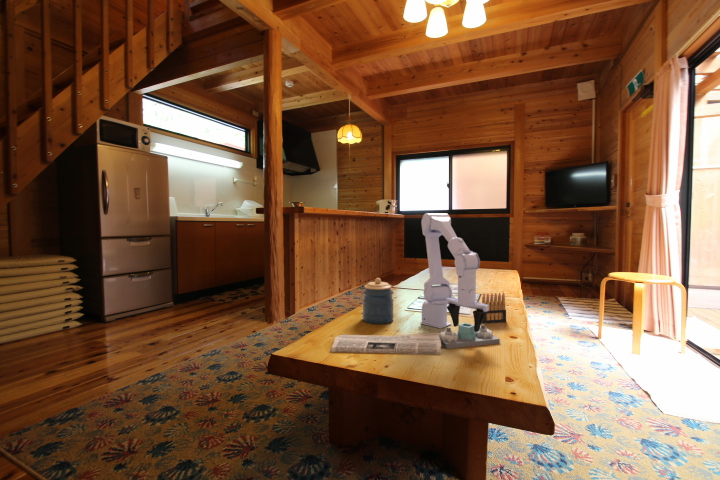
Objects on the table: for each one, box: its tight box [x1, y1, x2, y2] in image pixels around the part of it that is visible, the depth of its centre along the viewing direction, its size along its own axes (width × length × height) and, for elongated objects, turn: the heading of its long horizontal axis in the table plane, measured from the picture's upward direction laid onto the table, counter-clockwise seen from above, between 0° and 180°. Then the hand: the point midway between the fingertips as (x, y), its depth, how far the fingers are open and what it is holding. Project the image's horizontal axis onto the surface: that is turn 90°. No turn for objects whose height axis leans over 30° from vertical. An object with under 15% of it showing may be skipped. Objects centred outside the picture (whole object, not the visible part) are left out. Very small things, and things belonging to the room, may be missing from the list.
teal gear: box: [457, 322, 476, 340], centre depth 111 cm, size 6×6×4 cm
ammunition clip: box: [481, 291, 507, 325], centre depth 132 cm, size 11×2×12 cm, turn 101°
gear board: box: [438, 324, 501, 350], centre depth 111 cm, size 20×9×5 cm, turn 104°
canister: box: [361, 277, 395, 325], centre depth 136 cm, size 13×13×18 cm
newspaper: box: [330, 332, 442, 355], centre depth 107 cm, size 35×12×4 cm, turn 87°
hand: (466, 328), depth 111 cm, fingers open, 7 cm apart
